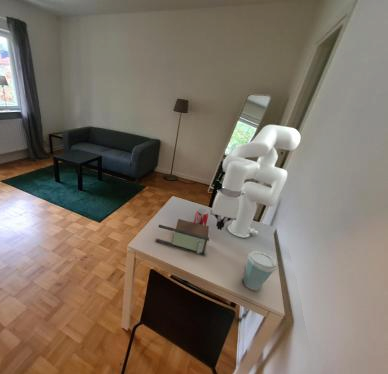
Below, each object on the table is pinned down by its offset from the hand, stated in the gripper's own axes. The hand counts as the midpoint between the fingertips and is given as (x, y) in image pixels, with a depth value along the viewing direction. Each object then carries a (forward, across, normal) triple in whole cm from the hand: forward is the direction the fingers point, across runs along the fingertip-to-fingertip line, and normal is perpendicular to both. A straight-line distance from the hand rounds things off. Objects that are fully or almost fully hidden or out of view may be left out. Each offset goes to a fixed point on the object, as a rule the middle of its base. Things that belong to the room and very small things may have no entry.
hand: (219, 228), depth 95 cm
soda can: (+19, +7, -25) cm, 32 cm away
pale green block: (+18, +11, -1) cm, 21 cm away
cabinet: (+19, +15, -8) cm, 25 cm away
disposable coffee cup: (+19, -18, +7) cm, 27 cm away
